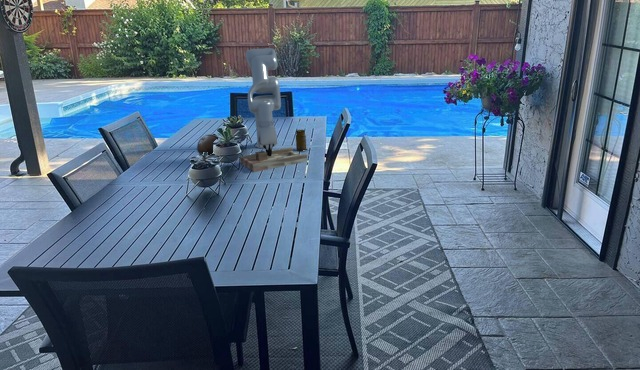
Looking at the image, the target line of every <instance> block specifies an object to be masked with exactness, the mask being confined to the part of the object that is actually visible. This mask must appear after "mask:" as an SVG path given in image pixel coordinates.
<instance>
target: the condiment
mask: <svg viewBox="0 0 640 370" xmlns="http://www.w3.org/2000/svg"><path fill="white" fill-rule="evenodd" d="M295 133H296V134H295V143H296V144H295V145H296V148H294V149H293V151H296V150H295V149H297V151H296V152H300V153H301V152H305V151H303V150H306V149H307V136H306V131H305V129H296V131H295Z"/></svg>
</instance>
